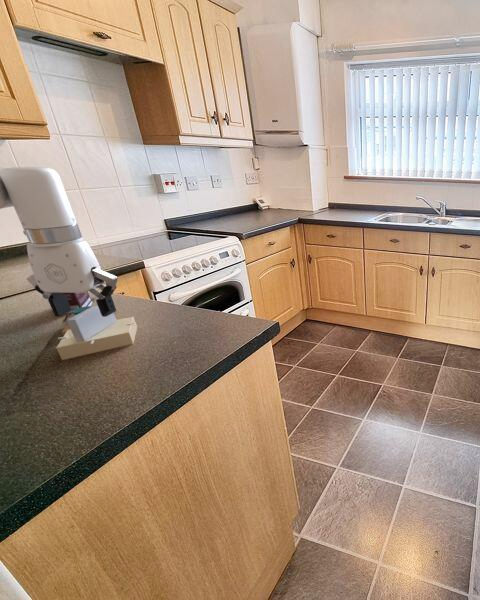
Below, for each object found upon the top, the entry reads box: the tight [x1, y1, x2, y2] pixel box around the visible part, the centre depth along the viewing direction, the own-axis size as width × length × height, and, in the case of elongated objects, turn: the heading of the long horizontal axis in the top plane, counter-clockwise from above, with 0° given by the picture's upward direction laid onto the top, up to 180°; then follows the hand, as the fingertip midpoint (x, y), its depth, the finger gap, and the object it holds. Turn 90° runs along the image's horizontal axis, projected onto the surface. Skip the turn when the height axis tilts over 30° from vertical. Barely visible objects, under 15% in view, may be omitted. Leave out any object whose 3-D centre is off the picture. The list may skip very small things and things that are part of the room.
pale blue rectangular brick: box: [66, 304, 118, 341], centre depth 73 cm, size 9×2×5 cm, turn 1°
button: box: [73, 305, 93, 316], centre depth 81 cm, size 4×4×2 cm
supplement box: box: [61, 291, 94, 319], centre depth 88 cm, size 9×5×16 cm, turn 27°
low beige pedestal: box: [55, 316, 138, 361], centre depth 75 cm, size 13×13×3 cm
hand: (86, 313), depth 72 cm, fingers open, 9 cm apart
